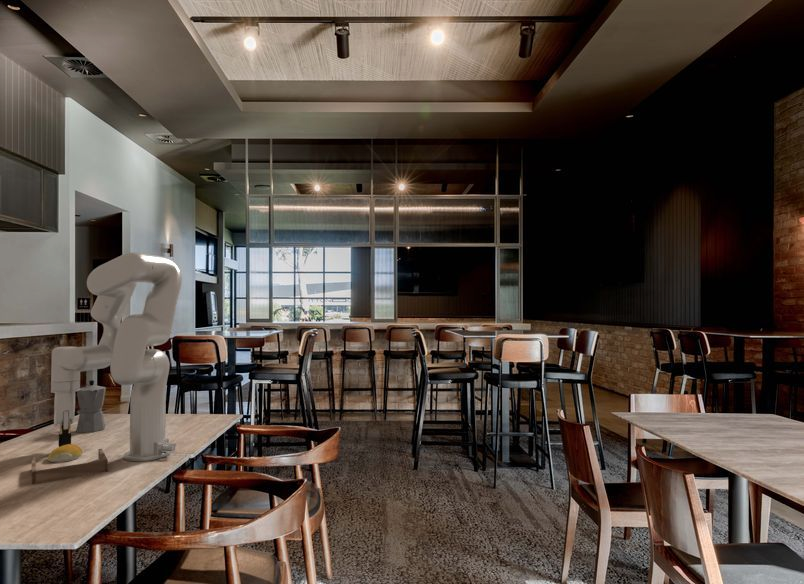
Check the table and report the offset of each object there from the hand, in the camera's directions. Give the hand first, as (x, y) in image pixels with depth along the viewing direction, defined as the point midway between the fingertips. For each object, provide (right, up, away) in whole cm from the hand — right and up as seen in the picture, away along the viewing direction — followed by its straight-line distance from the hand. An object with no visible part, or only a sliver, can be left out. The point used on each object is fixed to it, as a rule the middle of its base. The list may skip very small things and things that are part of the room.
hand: (64, 446), depth 159 cm
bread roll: (+5, -2, -8) cm, 9 cm away
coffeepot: (-10, -3, +29) cm, 30 cm away
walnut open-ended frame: (+14, -1, -20) cm, 24 cm away
